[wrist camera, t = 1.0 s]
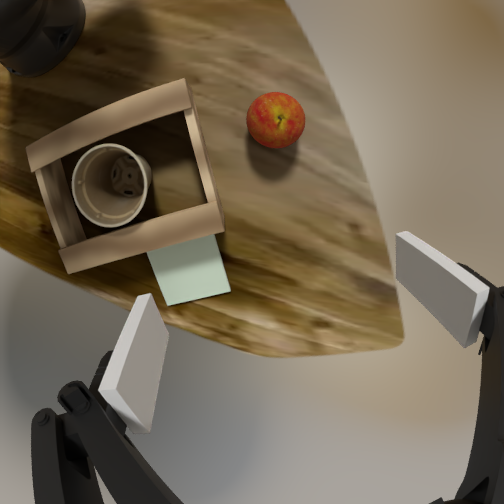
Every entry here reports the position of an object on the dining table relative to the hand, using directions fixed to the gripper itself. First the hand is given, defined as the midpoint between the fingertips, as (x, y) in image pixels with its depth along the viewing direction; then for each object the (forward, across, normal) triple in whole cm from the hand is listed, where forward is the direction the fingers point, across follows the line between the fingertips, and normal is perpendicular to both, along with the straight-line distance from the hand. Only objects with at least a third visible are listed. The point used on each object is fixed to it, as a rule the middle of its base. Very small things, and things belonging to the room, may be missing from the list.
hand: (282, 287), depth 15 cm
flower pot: (+27, -15, +6) cm, 31 cm away
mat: (+26, -10, -9) cm, 30 cm away
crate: (+27, -15, +6) cm, 31 cm away
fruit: (+27, +5, +8) cm, 29 cm away
